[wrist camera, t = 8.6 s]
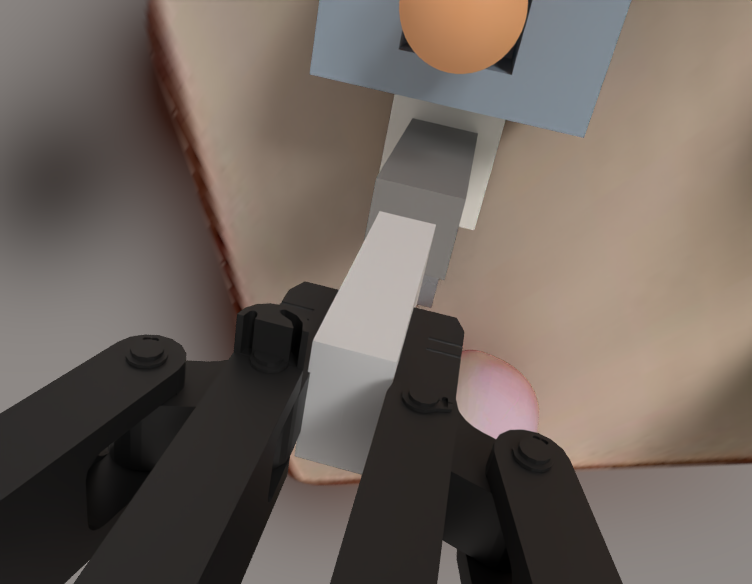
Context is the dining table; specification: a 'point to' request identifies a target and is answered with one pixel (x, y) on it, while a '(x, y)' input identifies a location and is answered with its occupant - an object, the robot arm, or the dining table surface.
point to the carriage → (435, 170)
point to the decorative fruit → (495, 395)
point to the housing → (491, 85)
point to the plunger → (462, 31)
